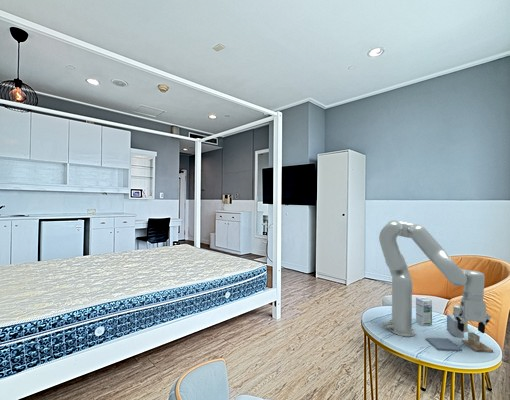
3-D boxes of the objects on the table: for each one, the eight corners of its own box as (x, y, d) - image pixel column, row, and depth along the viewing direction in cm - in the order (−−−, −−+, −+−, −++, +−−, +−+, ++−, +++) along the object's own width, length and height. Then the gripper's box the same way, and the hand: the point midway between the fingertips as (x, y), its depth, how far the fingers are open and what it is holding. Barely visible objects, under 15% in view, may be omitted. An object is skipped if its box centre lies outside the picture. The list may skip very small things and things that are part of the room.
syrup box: (423, 326, 148) (423, 300, 149) (415, 321, 154) (415, 296, 154) (432, 325, 149) (432, 300, 149) (424, 321, 155) (424, 296, 155)
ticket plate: (438, 350, 123) (438, 348, 123) (425, 339, 133) (425, 337, 133) (462, 351, 123) (462, 349, 123) (447, 340, 133) (447, 338, 133)
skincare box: (452, 328, 146) (452, 306, 147) (454, 325, 149) (454, 304, 150) (467, 332, 142) (467, 309, 142) (468, 329, 145) (468, 307, 145)
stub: (475, 351, 123) (475, 338, 123) (461, 341, 132) (461, 329, 132) (493, 352, 122) (493, 339, 122) (478, 342, 131) (478, 330, 131)
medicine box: (464, 337, 136) (464, 321, 136) (454, 336, 137) (454, 320, 137) (455, 330, 143) (455, 314, 144) (446, 329, 144) (446, 314, 145)
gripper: (460, 297, 124) (458, 333, 124) (498, 300, 123) (495, 336, 124) (449, 292, 132) (447, 325, 132) (485, 295, 131) (482, 329, 131)
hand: (470, 331), depth 128 cm, fingers open, 9 cm apart
